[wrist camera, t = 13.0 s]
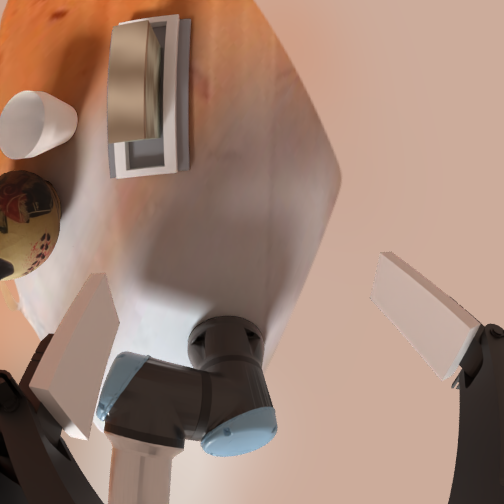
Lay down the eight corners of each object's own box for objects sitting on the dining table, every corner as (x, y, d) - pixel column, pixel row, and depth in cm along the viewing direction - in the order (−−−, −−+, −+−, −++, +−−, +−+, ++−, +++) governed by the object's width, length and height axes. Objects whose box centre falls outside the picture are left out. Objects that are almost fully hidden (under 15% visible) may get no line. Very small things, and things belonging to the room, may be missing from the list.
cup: (78, 87, 29) (40, 75, 18) (90, 137, 33) (52, 140, 22) (35, 113, 29) (-8, 112, 18) (47, 160, 33) (4, 172, 22)
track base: (189, 169, 38) (188, 171, 35) (113, 176, 36) (106, 180, 33) (191, 22, 29) (190, 13, 25) (114, 32, 27) (108, 25, 24)
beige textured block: (160, 138, 34) (144, 138, 24) (133, 141, 34) (108, 143, 24) (161, 48, 29) (148, 19, 19) (134, 52, 28) (113, 26, 18)
